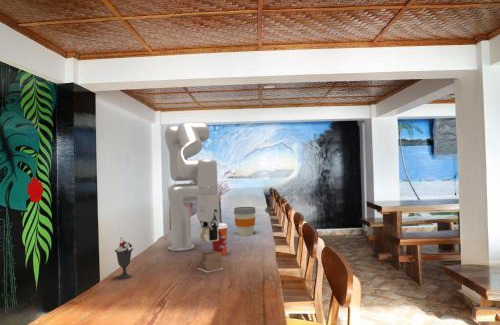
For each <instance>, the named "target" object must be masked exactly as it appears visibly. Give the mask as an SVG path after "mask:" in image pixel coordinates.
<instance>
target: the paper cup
mask: <svg viewBox="0 0 500 325" xmlns="http://www.w3.org/2000/svg"><path fill="white" fill-rule="evenodd" d="M212 225H213V224H212ZM228 228H229V227H228V225H227V223H226V222H225V223H224V222H222V223H219V225H218V235H219V240H218V241H212V250H213V251H216V252H219V253H221V257H222V256H226V255H227V248H228Z"/></svg>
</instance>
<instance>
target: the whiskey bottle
mask: <svg viewBox="0 0 500 325" xmlns="http://www.w3.org/2000/svg"><path fill="white" fill-rule="evenodd" d="M218 201H219V210H220V221H221V222H220V223H223V221H222V220H223V219H222V208H221V207H222V205H221V203H222V202H221V201H222V197H221V196H219V195H218ZM212 221H213V220H212ZM212 224H214V223H212ZM209 226H210V225H209Z"/></svg>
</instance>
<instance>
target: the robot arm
mask: <svg viewBox="0 0 500 325" xmlns="http://www.w3.org/2000/svg"><path fill="white" fill-rule="evenodd" d="M210 132H211V131H210V127H209V125H208V124H206V123H205V122H203V121H201V122H200V121H199V122H198V121H195V122H194V121H192V122H191V121H185V122H181V123H180V124H179V125H172V126H168V127H167V128H165V131H164V141H165V145H166V146H167V149H168V153H169V172H170V174H169V175H170V179H171V180H172V181H174V182H188V181H192V183H191V182H190V183H189V182H188V183H175V184H172V185H170V186H169V187H168V189H167V197H168V202H169V210H170V211H169V212H170V214H169V215H170V243H171V245H168V250H169V251H171V252H172V251H173V252H183V251H189V250H193V249H194V248H195V244H194V243H192V230H191V225H192V224H191V212H190V209H189V208H188V207H187V205H186V204H188V203H196V204H197V205H196V219H197V221H199V224H200V228H201V227H207V226H209V225H210V230H209V237H210V241H212V240H217V239H218V237H217V229H218V225H219V223H220V222H221V221H220V210H219V201H218V196H219V190H218V189H219V188H218V186H219V185H218V167H217V166H218V165H217V164H218V163H217V160H216V159H209V158H208V159H207V158H206V159H189V158H191V157H194V156H196V155H198V154H199V153H200V152H201V151H202V149H203V143H204V142H206V141H207V140H208V139H209V138H210V134H211V133H210ZM212 220H213V221H212ZM212 223H214V224H213V225H212Z"/></svg>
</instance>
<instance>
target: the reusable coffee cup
mask: <svg viewBox="0 0 500 325" xmlns="http://www.w3.org/2000/svg"><path fill="white" fill-rule="evenodd" d="M256 213H257V212H256V207H254V206H239V207H235V208H234V209H233V214H234V223H235V226H236V230H237V235H238V236H245V237H246V236H251V235H253V234H254V231H255V230H254V228H255V225H256V217H255V216H256Z"/></svg>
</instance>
